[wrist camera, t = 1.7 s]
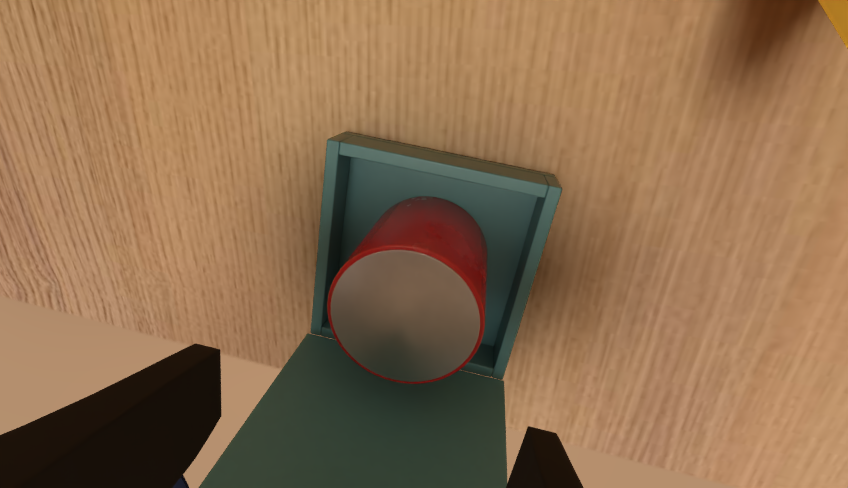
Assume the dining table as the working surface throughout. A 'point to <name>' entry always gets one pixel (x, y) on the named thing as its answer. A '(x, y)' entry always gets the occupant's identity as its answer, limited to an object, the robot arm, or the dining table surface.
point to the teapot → (837, 16)
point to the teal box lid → (366, 429)
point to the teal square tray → (456, 182)
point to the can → (413, 293)
